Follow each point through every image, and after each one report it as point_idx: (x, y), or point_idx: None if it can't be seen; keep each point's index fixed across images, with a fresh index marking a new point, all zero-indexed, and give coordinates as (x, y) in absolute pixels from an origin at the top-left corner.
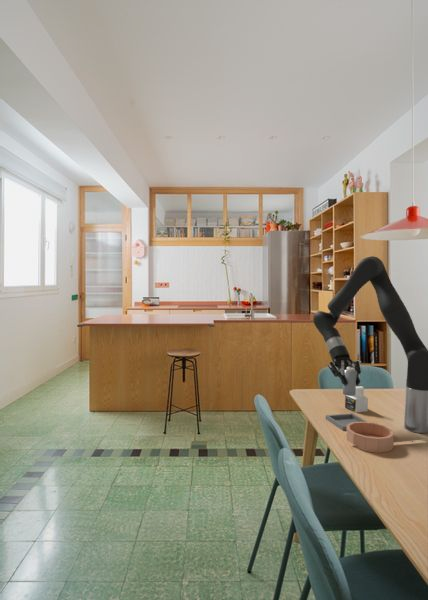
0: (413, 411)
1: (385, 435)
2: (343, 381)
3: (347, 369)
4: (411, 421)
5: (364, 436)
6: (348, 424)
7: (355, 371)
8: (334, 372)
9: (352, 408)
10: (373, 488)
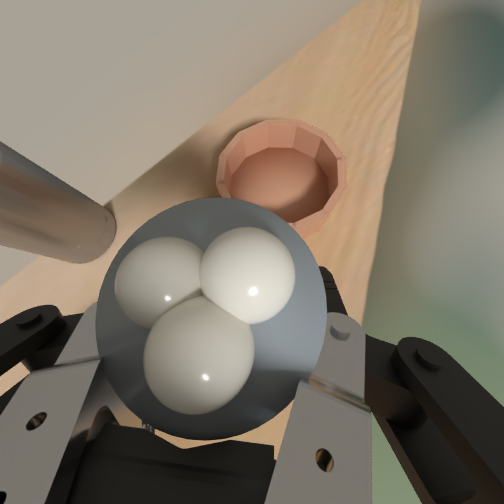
0: (64, 189)
1: (228, 181)
2: (331, 275)
3: (294, 265)
4: (94, 211)
5: (326, 137)
6: (319, 218)
7: (184, 202)
8: (436, 462)
9: (146, 427)
10: (392, 51)
